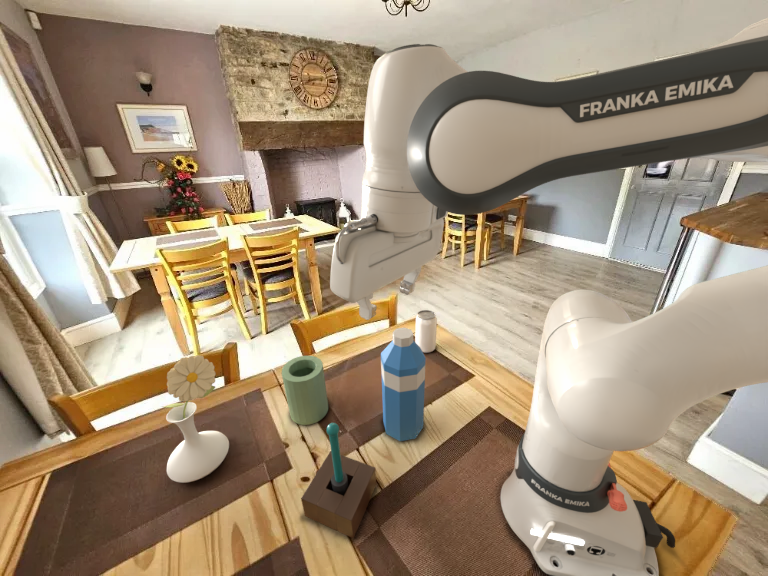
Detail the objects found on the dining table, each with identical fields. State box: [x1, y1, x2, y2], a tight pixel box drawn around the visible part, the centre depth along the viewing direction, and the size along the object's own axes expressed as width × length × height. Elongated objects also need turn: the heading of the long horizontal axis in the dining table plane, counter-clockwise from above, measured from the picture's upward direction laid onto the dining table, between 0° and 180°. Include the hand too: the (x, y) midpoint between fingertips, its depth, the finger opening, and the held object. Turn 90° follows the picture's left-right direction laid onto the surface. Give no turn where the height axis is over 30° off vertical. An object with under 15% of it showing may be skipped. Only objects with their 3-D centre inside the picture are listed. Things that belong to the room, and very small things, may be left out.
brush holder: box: [300, 450, 377, 539], centre depth 56 cm, size 10×10×5 cm
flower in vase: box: [160, 354, 230, 483], centre depth 60 cm, size 13×11×25 cm
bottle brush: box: [326, 422, 348, 496], centre depth 53 cm, size 3×3×19 cm
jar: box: [281, 355, 329, 426], centre depth 74 cm, size 9×9×13 cm
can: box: [414, 309, 438, 354], centre depth 96 cm, size 6×6×12 cm
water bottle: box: [380, 327, 427, 442], centre depth 67 cm, size 9×9×25 cm
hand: (388, 303), depth 45 cm, fingers open, 8 cm apart
